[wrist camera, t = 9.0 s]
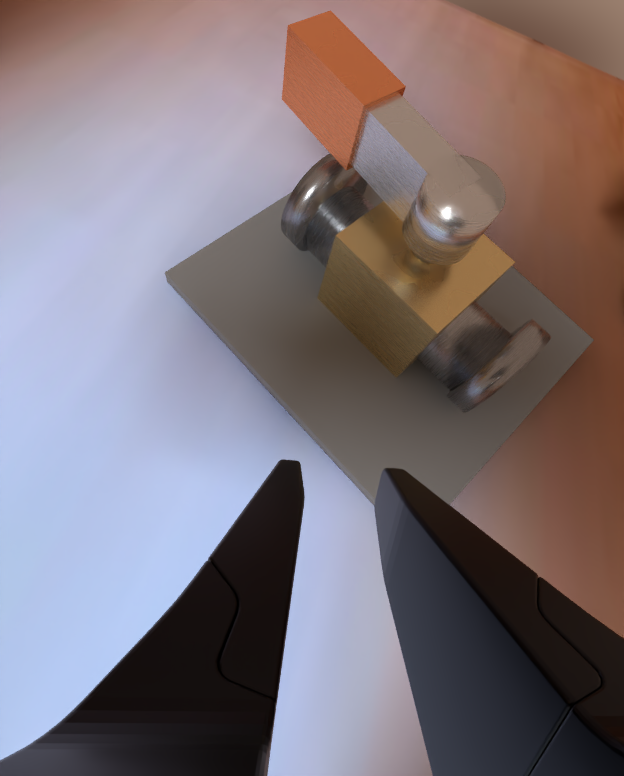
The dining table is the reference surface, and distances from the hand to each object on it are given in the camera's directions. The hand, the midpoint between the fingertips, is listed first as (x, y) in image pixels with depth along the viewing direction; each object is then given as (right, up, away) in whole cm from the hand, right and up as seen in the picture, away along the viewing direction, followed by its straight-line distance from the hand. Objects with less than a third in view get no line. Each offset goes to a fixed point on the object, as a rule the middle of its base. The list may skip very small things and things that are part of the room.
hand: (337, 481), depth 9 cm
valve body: (+3, +6, +14) cm, 15 cm away
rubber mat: (+3, +6, +14) cm, 15 cm away
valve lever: (+2, +11, +9) cm, 14 cm away
